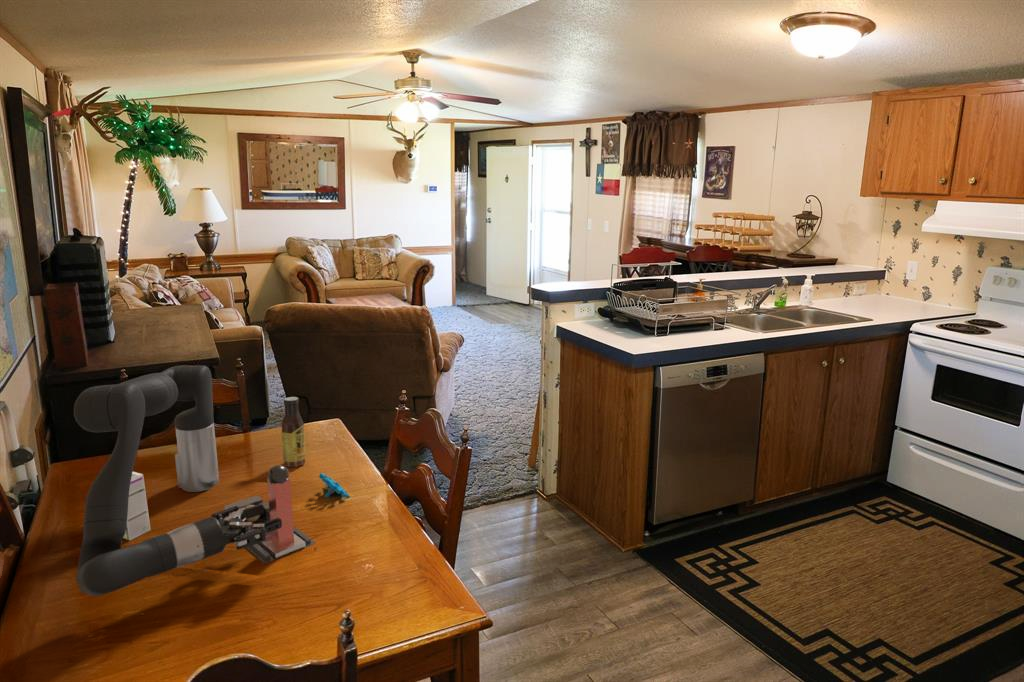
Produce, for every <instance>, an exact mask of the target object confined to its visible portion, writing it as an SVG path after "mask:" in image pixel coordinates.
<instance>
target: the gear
mask: <svg viewBox="0 0 1024 682" xmlns="http://www.w3.org/2000/svg"><path fill="white" fill-rule="evenodd" d="M318 478H320V479H321V481H322V482H323V483H325V484H324V486H325V488H324V490H327V492H326V493H325V494H324V496H323V497H324V498H329V497H330V496H331V495H332V494H334V493H335V492H336V493H337V494H338V495H341V497H343V498H345V499H346V498H347V499H348V498H351V496H350V494H348V493H347V491H346V490H345V488H343V486H341V485H340V483H339V482H338V481H335V480H334V479H333V478H332V477H331V476H328V475H326V474H324V473H323V472H320V473H319V475H318Z"/></svg>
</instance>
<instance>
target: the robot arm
mask: <svg viewBox="0 0 1024 682" xmlns="http://www.w3.org/2000/svg"><path fill="white" fill-rule="evenodd" d="M213 396H214V395H213V378H212V372H211V370H210V368H209V367H208V366H206V365H175V366H172V367H171V366H170V367H169V368H167V369H165V370H163V371H161V372H153V373H149V374H144V375H140V376H139V377H135V378H132V379H129V380H126V381H123V382H120V383H116V384H103V385H96V386H95V385H94V386H91V387H88V388H86V389H84V390H83V391H82V392H81V393H80V394H79V395H78V396H77V398H76V400H75V402H74V405H73V406H74V407H73V416H74V419H75V422H76V423H77V424H78V426H80V428H81V429H83V430H84V431H87V432H90V433H98V434H99V433H109V432H111V433H112V432H117V438H116V443H115V446H114V447H113V450H112V452H111V454H110V456H109V458H108V460H107V461H106V462H105V464H104V465H103V466H102V468H101V470H100V471H99V472H98V473H97V475H96V477H95V479H94V480H93V482H92V484H91V485H90V487H89V490H88V492H87V494H86V497H85V504H84V516H83V525H82V526H83V527H82V529H83V538H82V544H81V547H80V553H79V557H78V564H77V569H76V570H77V571H76V582H77V586H78V588H79V589H80V591H81V592H82V593H84V594H86V595H87V596H91V597H95V596H96V597H97V596H99V597H100V596H103V595H106V594H111V593H112V592H115V591H117V590H120V589H123V588H125V587H127V586H130V585H132V584H134V583H136V582H138V581H141V580H143V579H145V578H149V577H151V578H152V577H155V576H157V575H161V574H163V573H166V572H169V571H171V570H174V569H176V568H177V569H178V568H179V567H184V566H189V565H193V564H194V563H196V562H199V561H202V560H205V559H208V558H210V557H213V556H216V555H219V554H221V553H223V552H224V551H225V547H226V546H227V545H229V544H235V545H236V547H235V548H236V550H242V549H245V548H246V547H249V546H252V545H255V544H258V543H261V542H263V541H266V534H267V533H269V532H272V531H274V530H277V529H280V528H281V527H282V520H281V519H280V518H276V519H273V520H270V521H267V522H265V523H263V524H253V523H252V522H244V520H245V519H246V518H247V519H249V518H252V517H255V516H258V515H261V514H263V513H264V506H263V505H262V504H258V505H255V506H252V507H249V508H246V509H245V508H240V509H239V507H238V506H234V507H231V508H228V509H225V508H224V509H223V510H220V511H217V512H214V513H212V514H210V516H209V517H207V518H203V519H200V520H198V521H195V522H191V523H188V524H186V525H183V526H179V527H176V528H175V529H173V530H170V531H168V532H165V533H162V534H160V535H156V536H154V537H150V538H148V539H145V540H143V541H141V542H139V543H137V544H132V545H128V546H125V547H122V543H123V540H124V539H123V537H124V535H125V532H126V527H127V515H128V499H129V489H130V482H131V477H132V472H134V469H135V468H134V467H135V463H136V459H137V455H138V451H139V447H140V446H139V445H140V440H141V437H142V432H143V426H144V421H145V417H150V416H154V415H155V416H156V415H158V414H160V413H163V412H164V411H165V412H166V411H167V410H168V409H170V408H171V407H173V405H174V404H175V403H176V402H195V406H194V407H192V408H189V409H187V410H184V411H182V412H179V413H178V414H176V416H175V417H174V427H175V436H176V444H177V446H176V447H177V452H176V453H175V455H174V460H175V471H176V478H177V487H178V488H179V489H182V490H183V491H185V492H189V493H199V492H205V491H207V490H211V489H212V488H213V487H215V486H216V485H217V484H219V483H220V478H219V477H220V476H219V463H218V456H217V455H218V453H217V443H216V435H215V434H216V432H215V423H214V420H215V419H214V403H213V402H214V401H213V399H214V397H213ZM230 512H233V513H232V514H231V515H229V513H230ZM247 528H248V530H247ZM254 529H258V530H254ZM248 531H249V532H248ZM247 532H248V533H247ZM255 537H260V538H257V539H255ZM246 549H247V548H246Z"/></svg>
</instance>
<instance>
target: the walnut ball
mask: <svg viewBox="0 0 1024 682" xmlns="http://www.w3.org/2000/svg"><path fill="white" fill-rule="evenodd" d="M252 506H255V505H249V506H247V507H246V508H249V507H252ZM246 508H245V509H246ZM259 516H260V515H258V516H255V517H252V518H249V519H247V518H246V519H245V521H246V522H255V521H256V520H257V519H258V518H259Z"/></svg>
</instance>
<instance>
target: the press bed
mask: <svg viewBox="0 0 1024 682" xmlns="http://www.w3.org/2000/svg"><path fill="white" fill-rule="evenodd" d="M258 504H262V505H263V506H264V513H263V514H261V515H260V516H259V518H258V519H257V520H256V521H255V522H252V523H253V524H263V523H265V522H267V521H270V511H269V503H268V502H266V501H264V500H263V498H262V497H260V496H259V495H254V496H250V497H249V498H245V499H241V500H238V501H235V502H233V503H229V504H227V505H224V510H225V509H228V508H231V507H234V506H238V507H239V509H240V508H246V507H247V506H249V505H258ZM232 513H233V512H230V513H229V515H231V514H232ZM244 522H246V521H245V520H244ZM247 530H248V528H247ZM254 530H258V529H254ZM293 531H294V534H295V535H297V536H298V537H299V538H301V539H302V540H303V541H305V543H306V546H305V547H303V548H300V549H298V550H295V551H293V552H290V553H287V554H285V555H282V556H280V557H277V558H275V557H274V556H273V555H271V554H270V553H269V552H268V551H267V550H265V549H264V548H263V547H262V546H261V545H260V544H255V545H252V546H249V547H246V549H247V550H248V551H249V552H251V554H253V555H254V556H255V557H256V558H258V559H259V560H260V562H262V563H263V564H267V563H270V562H273V561H275V560H277V559H280V558H283V557H284V556H288V555H290V554H292V553H295V552H297V551H299V550H303V549H305V548H308V547H310V546H312V545H315V544H316V542H315V541H314V540H313V539H311V538H310V536H308V535H307V534H305V533H304V532H302V531H301V530H300V529H298V528H297V527H296V526H294V525H293ZM248 532H249V531H248ZM248 532H247V533H248ZM313 550H314V551H315V550H317V547H315V548H314V549H313Z"/></svg>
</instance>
